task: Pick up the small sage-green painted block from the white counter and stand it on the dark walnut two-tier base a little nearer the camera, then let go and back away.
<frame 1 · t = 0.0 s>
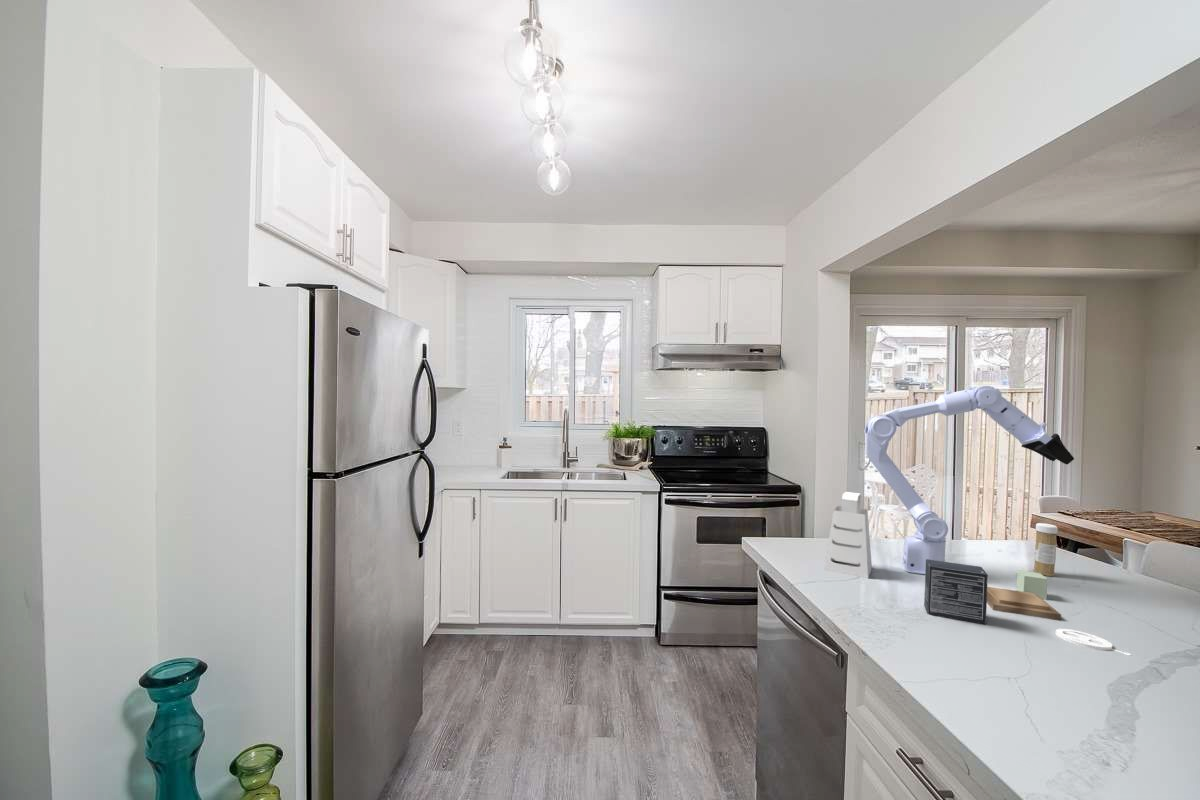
hand: (1063, 460, 133), 32 cm above the counter, tool tilted 50°, fingers open, 7 cm apart
grater: (847, 569, 143), on the counter
walnut base: (1016, 605, 122), on the counter
sage block: (1031, 595, 129), on the counter
pendant: (1092, 645, 103), on the counter
sprinkles bottle: (1044, 574, 146), on the counter
small box: (953, 615, 115), on the counter
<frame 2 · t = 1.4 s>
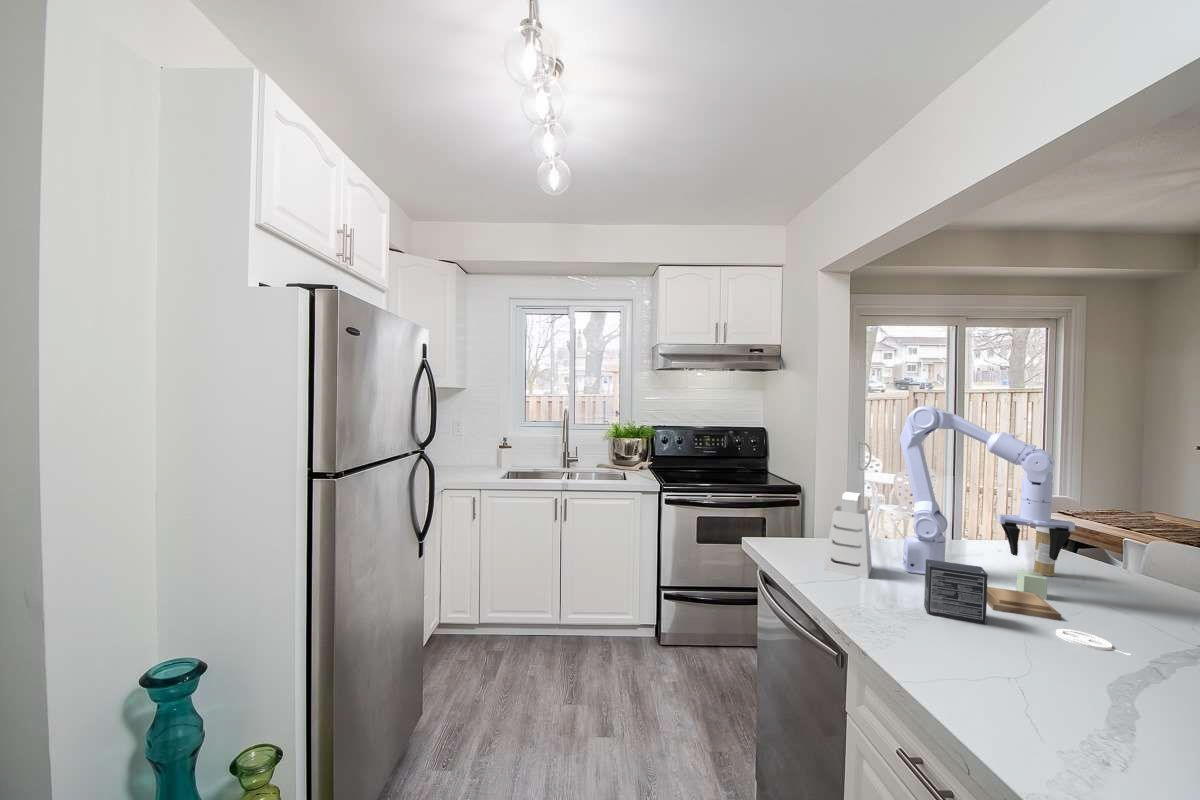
hand: (1033, 556, 129), 9 cm above the counter, tool pointing down, fingers open, 7 cm apart
nothing on the counter moved.
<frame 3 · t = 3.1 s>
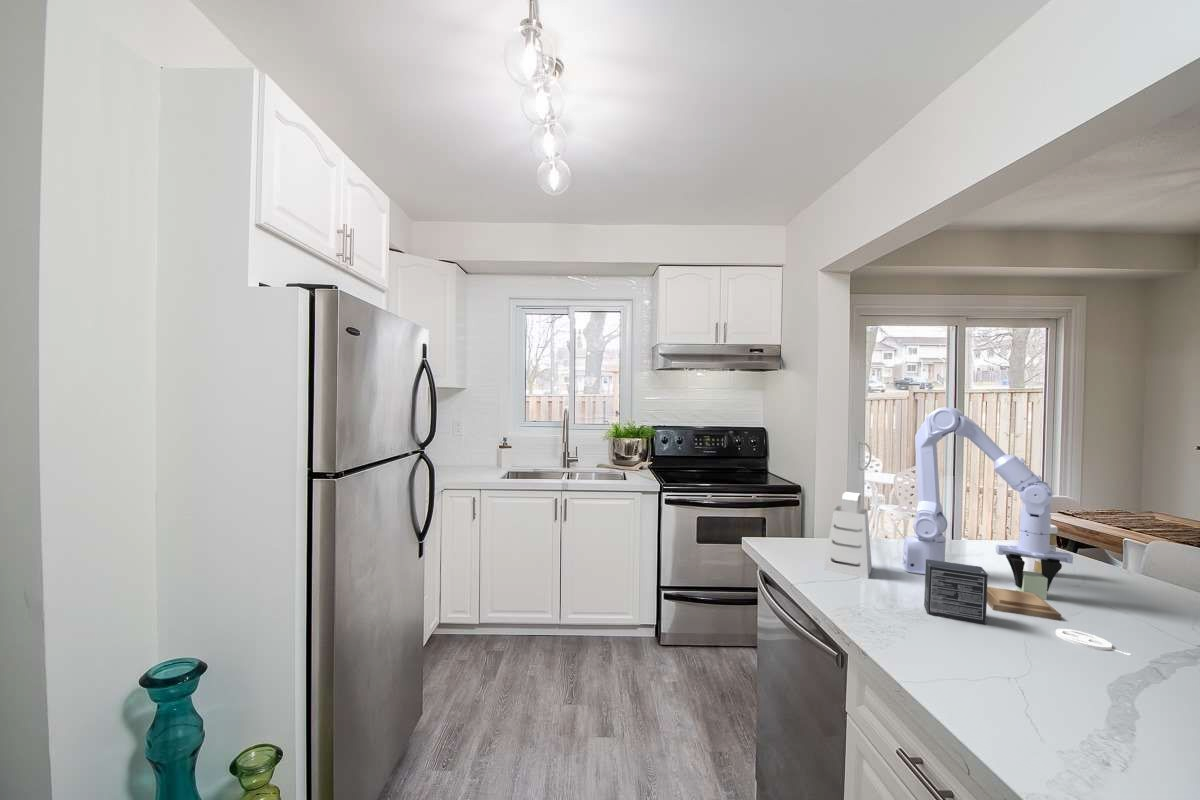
hand: (1031, 588, 129), 2 cm above the counter, tool pointing down, fingers closed on sage block, 4 cm apart
sage block: (1031, 594, 129), on the counter, touching gripper
everything else where it was.
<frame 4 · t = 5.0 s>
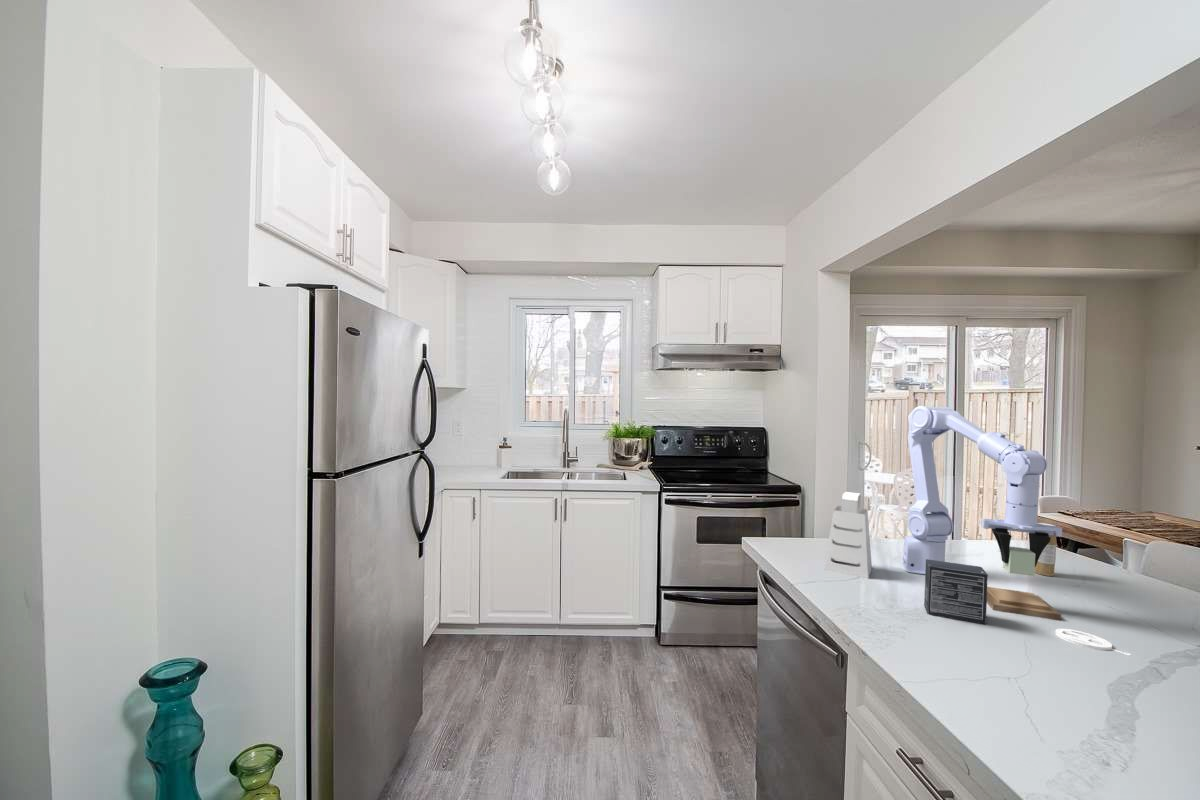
hand: (1018, 563, 121), 9 cm above the counter, tool pointing down, fingers closed on sage block, 4 cm apart
sage block: (1018, 571, 122), point 8 cm above the counter, touching gripper
everything else where it was.
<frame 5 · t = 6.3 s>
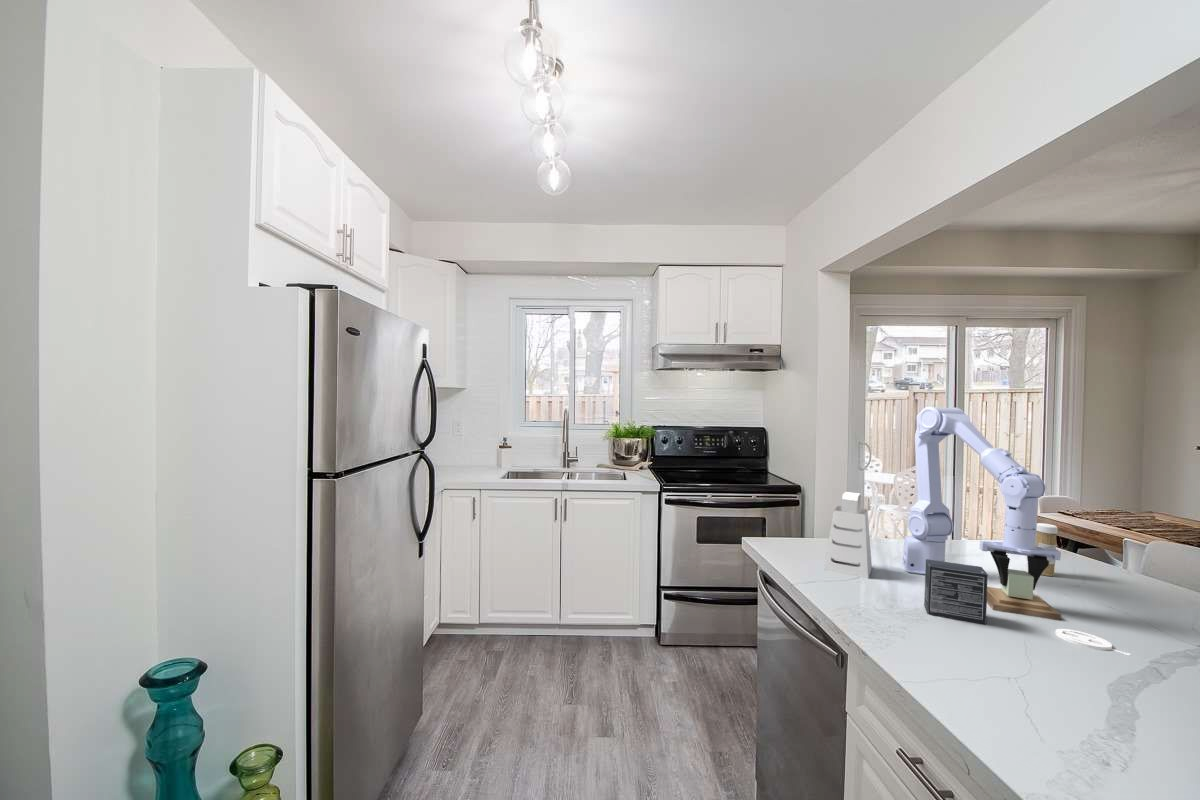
hand: (1017, 586, 121), 4 cm above the counter, tool pointing down, fingers closed on sage block, 4 cm apart
sage block: (1016, 594, 122), point 2 cm above the counter, touching gripper
everything else where it was.
when the fingers open (4 cm above the counter, at t = 7.1 s): sage block stays where it is, resting on walnut base.
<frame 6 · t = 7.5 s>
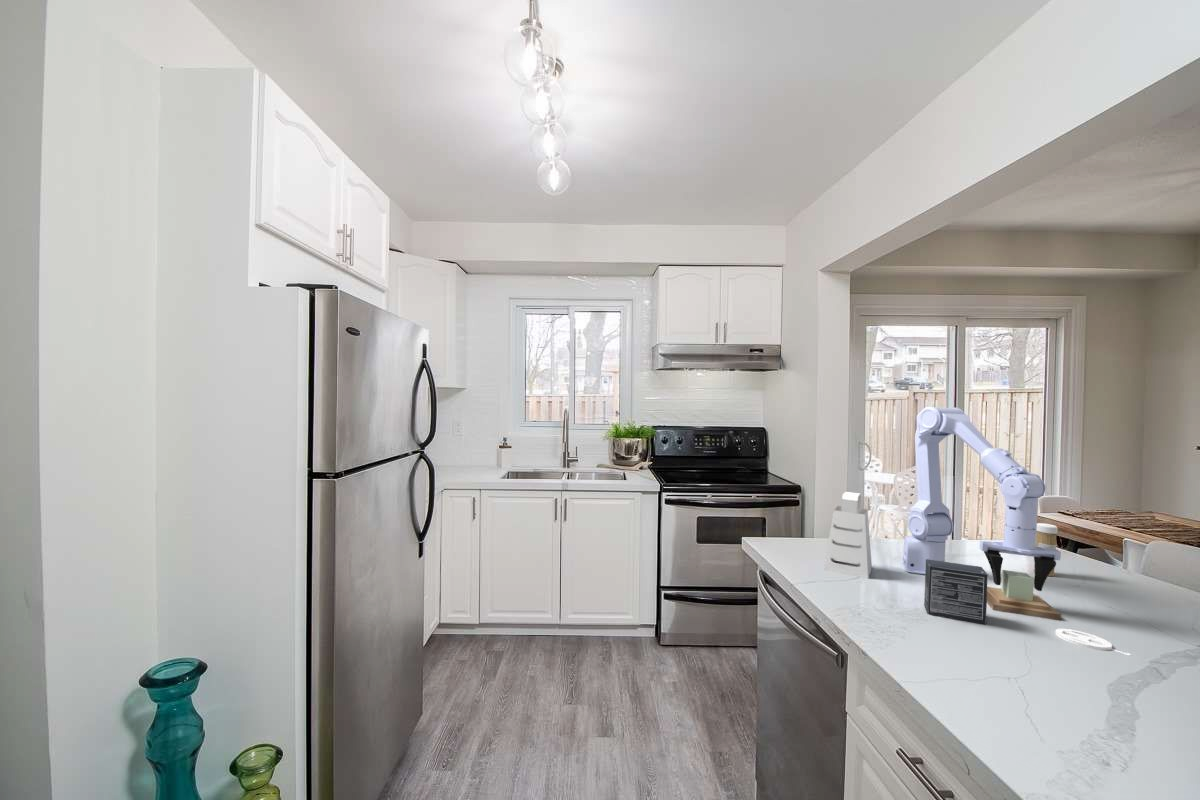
hand: (1017, 586, 121), 4 cm above the counter, tool pointing down, fingers open, 7 cm apart
sage block: (1016, 596, 122), point 2 cm above the counter, touching walnut base
everything else where it was.
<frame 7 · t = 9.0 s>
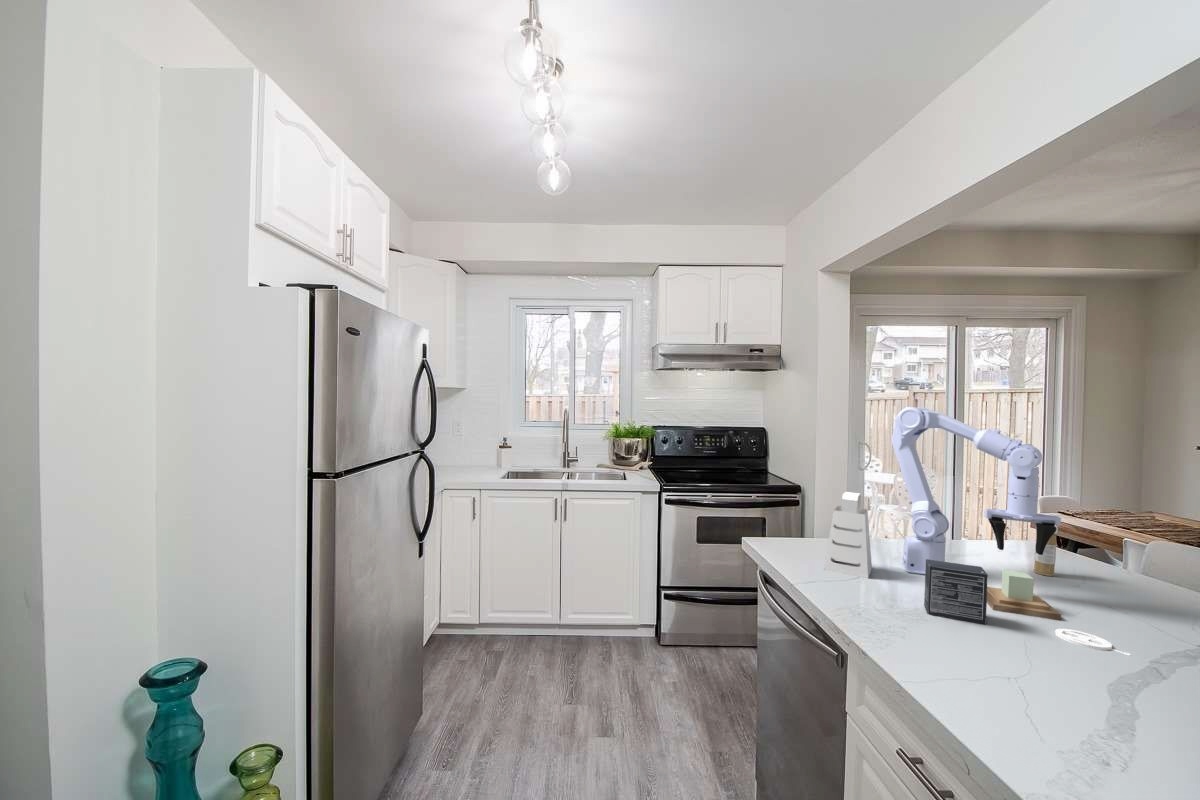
hand: (1019, 551, 129), 10 cm above the counter, tool pointing down, fingers open, 7 cm apart
nothing on the counter moved.
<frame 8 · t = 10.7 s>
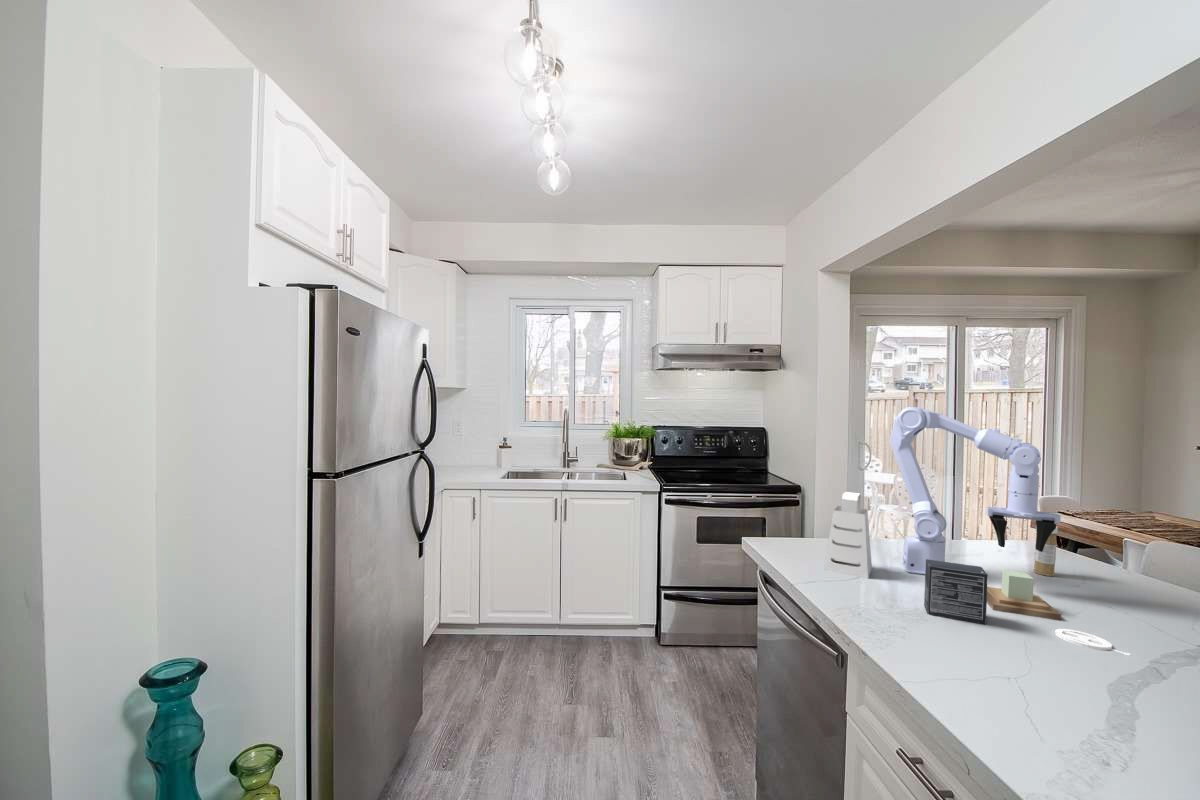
hand: (1020, 548, 131), 10 cm above the counter, tool pointing down, fingers open, 7 cm apart
nothing on the counter moved.
at the end: sage block inside the target area on the walnut base (0.1 cm from its centre), point 2.0 cm above the walnut base's base; sage block tilted 0°; the gripper is holding nothing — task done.
